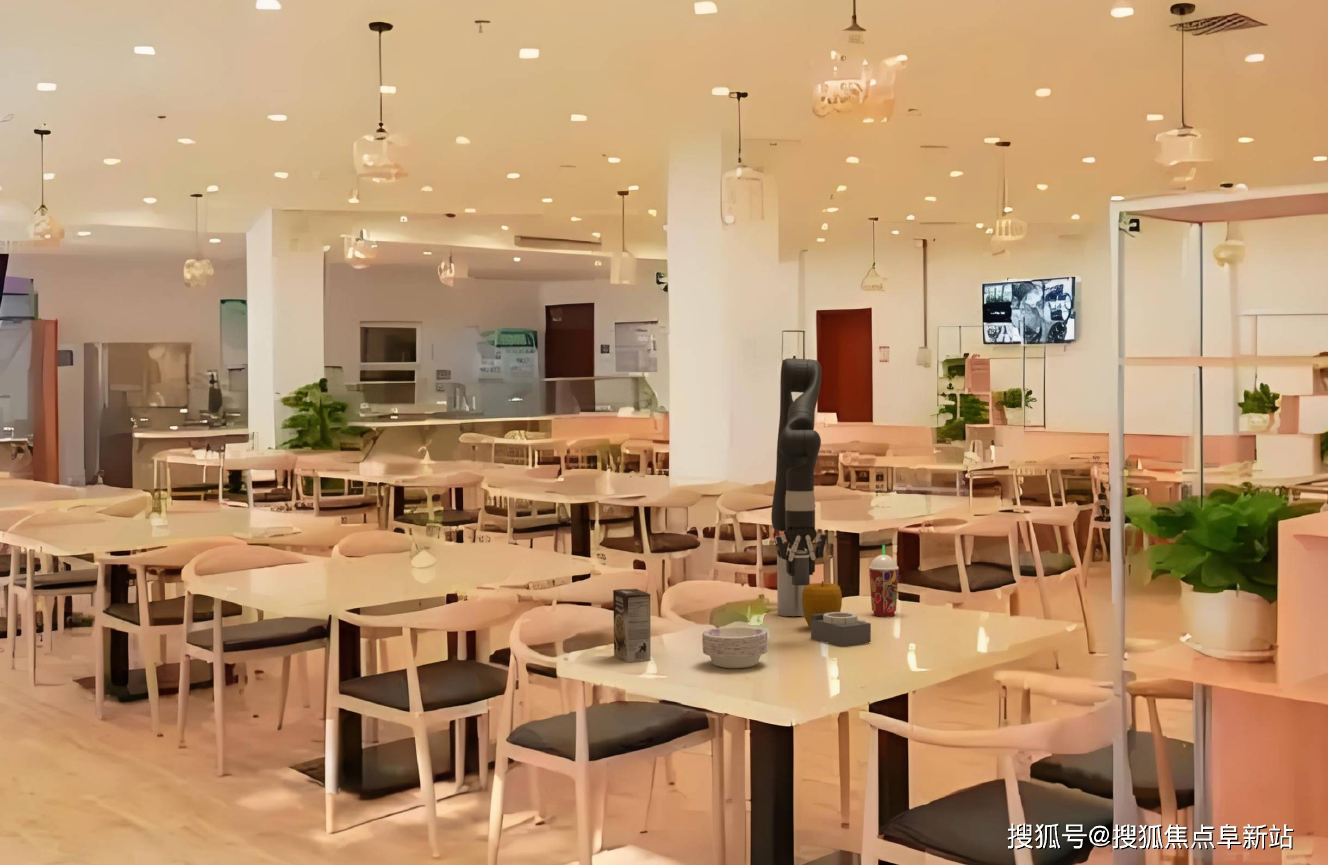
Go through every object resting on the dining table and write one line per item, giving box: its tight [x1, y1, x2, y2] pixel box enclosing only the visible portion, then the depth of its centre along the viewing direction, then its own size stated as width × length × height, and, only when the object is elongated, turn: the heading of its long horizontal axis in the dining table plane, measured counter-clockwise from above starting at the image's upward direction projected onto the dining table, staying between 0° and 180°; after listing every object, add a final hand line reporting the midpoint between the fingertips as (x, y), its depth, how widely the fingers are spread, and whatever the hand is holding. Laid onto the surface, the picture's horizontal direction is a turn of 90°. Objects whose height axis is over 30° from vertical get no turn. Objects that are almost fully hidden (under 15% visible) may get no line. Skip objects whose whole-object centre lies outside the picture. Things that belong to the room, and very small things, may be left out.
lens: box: [791, 550, 811, 585], centre depth 323 cm, size 5×5×8 cm
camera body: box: [810, 611, 872, 648], centre depth 324 cm, size 13×9×7 cm
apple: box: [802, 580, 843, 629], centre depth 341 cm, size 11×11×13 cm
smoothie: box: [868, 544, 900, 617], centre depth 361 cm, size 8×8×20 cm
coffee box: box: [612, 588, 652, 663], centre depth 305 cm, size 9×6×16 cm
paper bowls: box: [702, 626, 768, 669], centre depth 296 cm, size 15×15×8 cm
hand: (800, 574), depth 323 cm, fingers closed on lens, 4 cm apart
